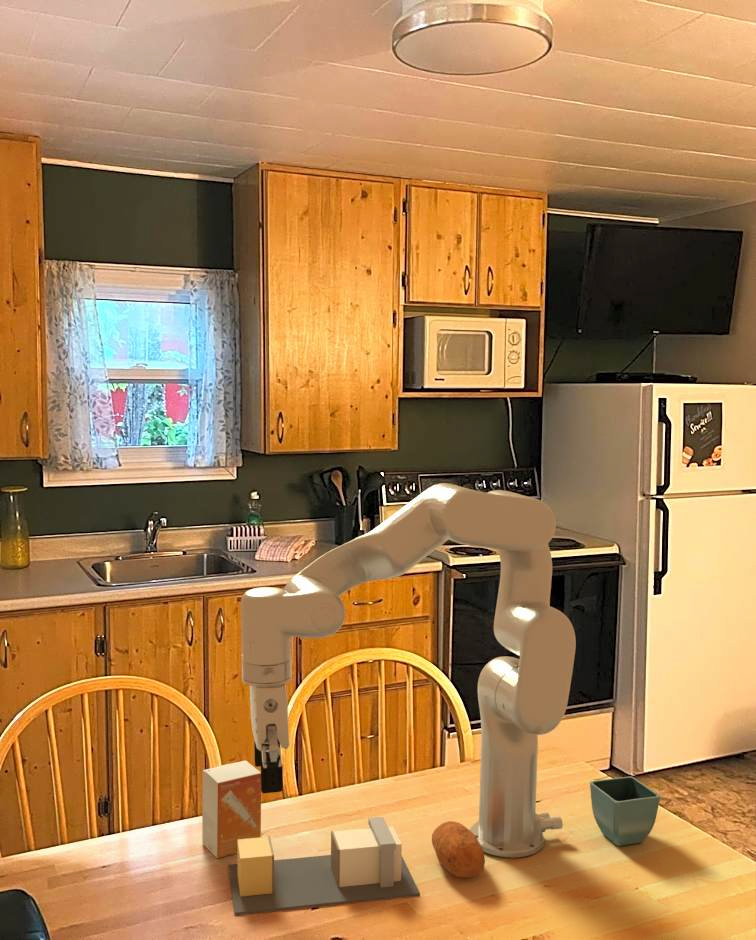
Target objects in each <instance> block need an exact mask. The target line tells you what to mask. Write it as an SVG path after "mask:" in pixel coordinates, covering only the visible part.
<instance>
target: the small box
mask: <svg viewBox="0 0 756 940" xmlns="http://www.w3.org/2000/svg"><path fill="white" fill-rule="evenodd" d="M201 801H202V802H201V803H202V808H201V809H202V811H201V812H202V814H201V815H202V816H201V817H202V819H201V821H202V823H201V827H202V832H201V833H202V845H204V847H205V848H206V849H207V850H208V851H209V852H210V853H211V854H212V855H213V856H214V857H215V858H216V859H221V858H224V857H226V856H230V855H234V854H237V839H248V838H259V837H262V836H261V835H262V834H261V833H262V831H261V829H262V828H261V827H262V791H261V770H258V769H257V767H256V766H253V765H252V764H251V763H250V762H249V761H247V760H240V761H237V762H232V763H226V764H221V765H218V766H215V767H211V768H207V769H203V770H202V800H201Z"/></svg>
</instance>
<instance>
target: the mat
mask: <svg viewBox="0 0 756 940" xmlns="http://www.w3.org/2000/svg"><path fill="white" fill-rule="evenodd" d="M228 875H229V880H230V889H231V897H232V904H233V907H232V908H233V913H234V916H242V915H248V914H251V915H252V914H258V913H270V912H278V911H288V910H297V909H305V908H307V909H308V908H315V907H324V906H325V907H327V906H334V905H343V904H353V903H362V902H373V901H381V900H391V899H400V898H408V897H420V896H421V893H420V890H419V888H418V886H417V884H416V882H415V880H414V878H413V875H412V874H411V871H410V870H409V867H408V865H407V864H406V861H405V860H404V857H403V854H401V881H394V886H390V887H381V886H380V884H379V883H374V884H365V885H355V886H345V887H337V884H336V881H335V878H334V875H333V872H332V869H331V854H326V855H325V854H324V855H317V856H316V855H315V856H306V857H305V856H304V857H295V858H284V859H274V894H272V893H271V894H261V895H251V896H241V897H240V890H239V884H238V877H237V863H233V864H232V863H231V864H228Z"/></svg>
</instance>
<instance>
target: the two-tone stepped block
mask: <svg viewBox="0 0 756 940" xmlns="http://www.w3.org/2000/svg"><path fill="white" fill-rule="evenodd" d="M367 822H368V823H367V824H368V826H369V828H367V827H366V828H357V829H356V828H355V829H347V830H346V829H344V830H331V831H330V838H331V839H330V855H331V869H332V872H333V875H334V878H335V881H336V884H337V887H345V886H355V885H365V884H374V883H379V884H380V886H381V887H390V886H394V881H401V855H402V848H403V847H402V842H401V840H400V838H399V836H398V834H397V832H396V830H395V828H394V826H393V825H390V826H388V824H387V822H386V820H385V818H384V816H377V817H376V816H375V817H368V821H367Z"/></svg>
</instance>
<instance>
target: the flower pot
mask: <svg viewBox="0 0 756 940" xmlns="http://www.w3.org/2000/svg"><path fill="white" fill-rule="evenodd" d="M589 787H590V789H589V790H590V799H591V802H590V803H591V809H592V813H593V818H594V821H595V822H596V824H597V827H598V828H599V830H600V832H601V834H602V835H604V836H605V838H607V839H608V840H609V841H611V842H612V843H613V844H614V845H616V846H618V847H621V846H626V845H634V844H641V843H642V842H644V841H645V840H646V839H647V837H648V836H649V835H650V834H651V832H652V830H653V828H654V826H655V823H656V819H657V815H658V810H659V804H660V799H661V796H660V795H659V793H656V792H655V791H654V790H653V789H651V788H650V787H648V786H646V785H645V784H643V783H642V782H641V781H639V779H637V778H635V777H634V776H631V775H630V776H623V777H615V778H607V779H606V778H605V779H598V780H591V781H589Z"/></svg>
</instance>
